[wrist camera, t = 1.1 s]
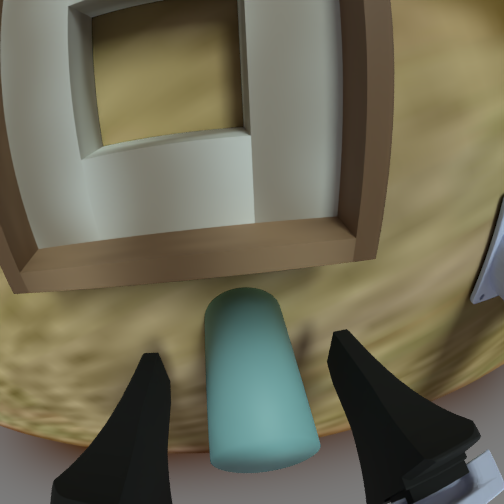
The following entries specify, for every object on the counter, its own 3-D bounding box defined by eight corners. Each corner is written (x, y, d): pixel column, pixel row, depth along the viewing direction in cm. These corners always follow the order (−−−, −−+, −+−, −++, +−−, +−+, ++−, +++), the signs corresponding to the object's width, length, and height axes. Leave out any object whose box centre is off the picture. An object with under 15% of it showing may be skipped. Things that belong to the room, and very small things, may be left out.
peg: (281, 283, 13) (328, 427, 7) (280, 338, 15) (313, 463, 9) (199, 291, 13) (201, 445, 7) (210, 346, 15) (218, 476, 9)
